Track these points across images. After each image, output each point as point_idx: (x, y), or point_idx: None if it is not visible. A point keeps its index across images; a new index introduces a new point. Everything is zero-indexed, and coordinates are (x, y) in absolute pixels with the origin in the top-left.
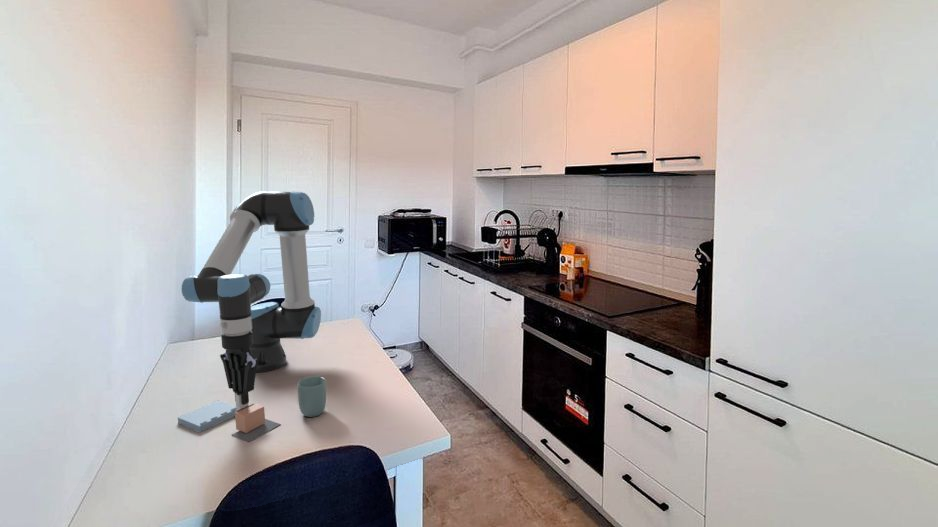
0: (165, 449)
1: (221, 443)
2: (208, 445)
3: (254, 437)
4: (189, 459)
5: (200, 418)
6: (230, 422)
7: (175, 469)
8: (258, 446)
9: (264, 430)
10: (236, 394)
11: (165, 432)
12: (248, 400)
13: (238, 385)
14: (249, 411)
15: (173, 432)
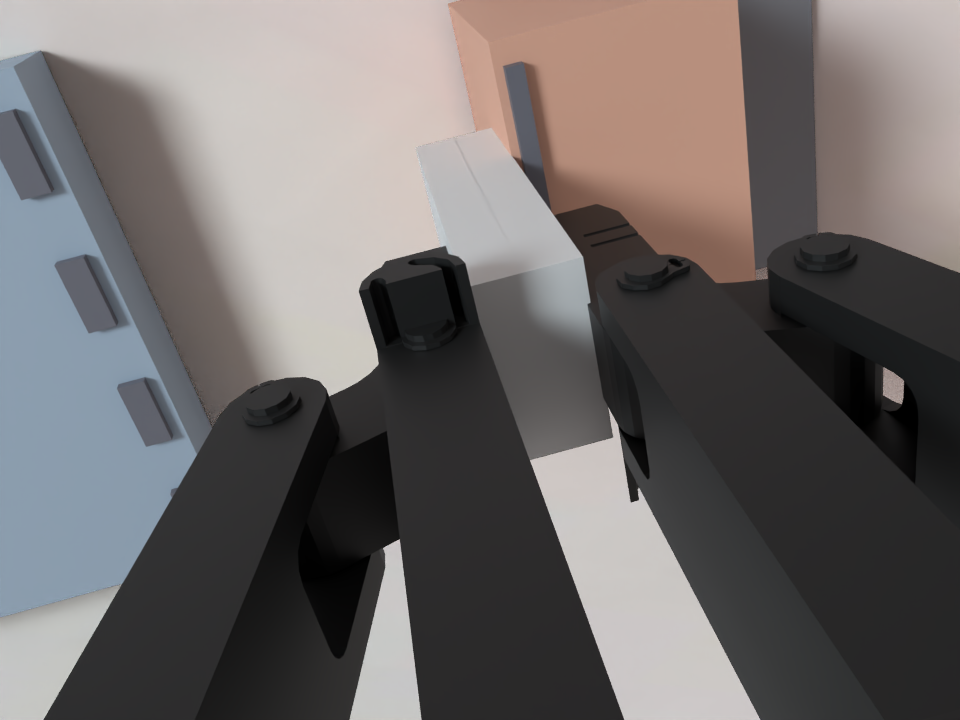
0: (356, 717)
1: (616, 425)
2: (558, 504)
3: (798, 184)
4: (645, 629)
5: (45, 510)
6: (236, 234)
7: (690, 699)
8: (955, 215)
9: (762, 38)
10: (545, 446)
11: (25, 695)
12: (625, 224)
13: (678, 551)
14: (704, 222)
15: (74, 653)
